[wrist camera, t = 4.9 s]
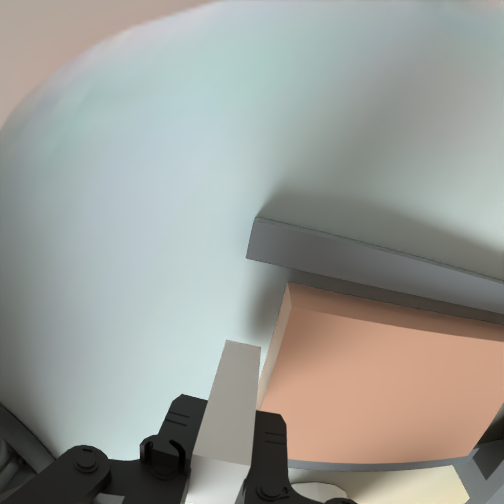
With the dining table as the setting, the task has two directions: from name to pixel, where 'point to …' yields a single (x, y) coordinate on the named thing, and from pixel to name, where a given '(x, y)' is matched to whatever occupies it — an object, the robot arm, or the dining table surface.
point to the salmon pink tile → (379, 379)
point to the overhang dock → (401, 280)
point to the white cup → (319, 491)
